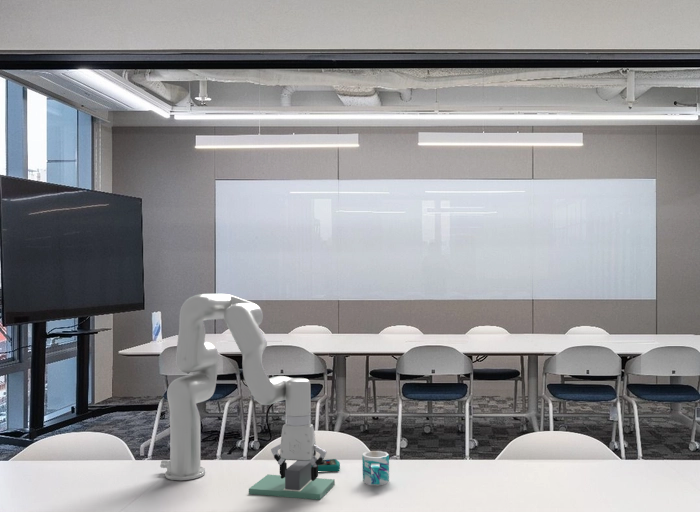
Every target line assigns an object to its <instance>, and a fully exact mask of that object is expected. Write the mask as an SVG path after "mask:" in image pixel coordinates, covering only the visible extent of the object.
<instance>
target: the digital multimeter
mask: <svg viewBox="0 0 700 512" xmlns="http://www.w3.org/2000/svg"><path fill="white" fill-rule="evenodd" d="M311 467H312V464H311ZM339 469H340V470H341V463H340V461H339V460H337V459H336V458H331V459H329V458H327V459H323V461H322V462H321V463H320V464H319V465H318V471H339V472H340V470H339Z"/></svg>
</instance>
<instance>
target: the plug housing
mask: <svg viewBox="0 0 700 512" xmlns="http://www.w3.org/2000/svg"><path fill="white" fill-rule="evenodd" d="M310 480H311V463H310V461H296V460H295V462H293V463H292V464H291V465H290V466H287V469H286V470H285V489H289V490H300V489H301V488H303V487H304V486H305V485H306V484H307V483H308V482H309V481H310Z"/></svg>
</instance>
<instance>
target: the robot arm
mask: <svg viewBox="0 0 700 512" xmlns="http://www.w3.org/2000/svg"><path fill="white" fill-rule="evenodd" d="M263 318H264V313H263V310H262V308H261V307H260V306H259V305H258V304H257V303H254V302H253V301H250V300H246V299H244V298H240V297H238V296H235V295H232V294H228V293H201V294H195V295H192V296H190V297H188V298H187V299H186V300H185V301H184V302H183V303H182V305H181V307H180V310H179V326H178V327H179V328H178V336H177V345H176V354H175V367H176V368H177V370H178V371H179V372H181V373H185V374H186V373H187V375H183V376H181V377H177V378H175V379H173V380H172V381H171V382H170V384H169V385H168V387H167V390H166V391H167V392H166V396H167V397H166V399H167V402H168V408H169V409H168V410H169V425H170V426H169V427H170V429H169V431H170V433H169V436H170V438H169V439H170V441H169V445H170V446H169V447H170V449H169V450H170V451H169V460H167V459H162V460H161V462H160V465H159V467H160V468H161V469H162V468H163V469H165V468H166V471H165V473H164V476H165V478H166V479H168V480H172V481H189V480H194V479H199V478H201V477H203V476H204V475H205V474H206V468H204V467H202V466H201V414H200V411H199V409H198V406H197V404H198V403H203V402H205V401H208V400H209V399H211V397H213V395H214V393H215V391H216V386H217V377H218V369H219V362H220V361H219V360H220V357H219V352H218V349H217V347H216V345H214V344H213V343H212V342H210V341H205V338H206V332H207V331H206V326H205V322H204V321H207V320H208V321H210V320H211V321H213V320H214V321H215V320H224V323H225V324H226V326H227V328H228V330H229V332H230V334H231V336H232V338H233V339H234V342H235V343H236V345H237V347H238V350H239V351H240V354H241V356H242V363H241V365H242V375H243V379H244V382H245V383H246V386H247V387H248V390H249V392H250V394H251V395H252V397H253V399H254V400H255V401H256V402H257V403H258V404H260V405H263V406H270V405H273V404H276V403H279V402H283V401H285V415H281V421H284V424H283V425H282V429H281V436H280V443H279V444H277V445H276V446H274V447H272V448H271V449H270V451H271V454H272V455H273V458H274V460H275V461H276V462H277V465H279V475H281V478H282V479H283V478H284V477H285V470H286V469H287V468H288V463H287V461H295V462H296V461H310V463H311V464H312V467H311V480H312V481H314V480H315V479H316V478H319V472H318V465H319V464H320V463H321V462H322V461H323V460H325V457H326V455H327V453H328V452H327V451H326V450H325V449H323V448H322V447H320V446H319V445H317V443H316V436H315V435H316V434H315V429H314V425H313V423H312V416H311V415H312V409H311V408H312V407H311V405H312V404H311V403H312V402H311V401H312V400H311V389H312V388H311V381H310V380H309V379H308V378H304V377H289V376H286V375H285V376H284V375H278V376H276V375H275V376H273V377H269V376H268V375H267V372H266V370H265V368H264V365H263V354H264V351H265V349H266V348H267V345H268V342H267V339H266V338H265V336H264V334H263V332H262V330H261V328H260V325H261V324H262V323H263ZM189 373H192V374H189ZM188 374H189V375H188ZM279 452H280V453H279ZM317 453H318V454H319V457H318V458H317V456H316V455H317Z"/></svg>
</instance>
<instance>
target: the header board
mask: <svg viewBox="0 0 700 512" xmlns="http://www.w3.org/2000/svg"><path fill="white" fill-rule="evenodd" d="M335 483H336V482H335V479H334V478H333V479H332V478H323V477H322V478H319V477H317V478H316V479H315V480H314V481H312V480H310V481H309V482H308V483H307V484H306V485H305V486H304V487H303V488H301V489H300V490H289V489H285V477H284V478H283V479H282V478H281V475H280V474H267V475H265V476H264V477H262V478H261V479H260V480H258V481H257V482H256V483H255V484H253V485H252V486H250V487H248V494H249V495H258V496H269V497H271V496H272V497H280V498H281V497H284V498H295V499H296V498H297V499H303V500H305V499H306V500H307V499H308V500H316V501H318V500H319V501H320V500H322V498H323V497H324V496H325V495H326V494H328V492H329V491H330V490H331V489H332V488H333V487H334V486H335Z"/></svg>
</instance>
